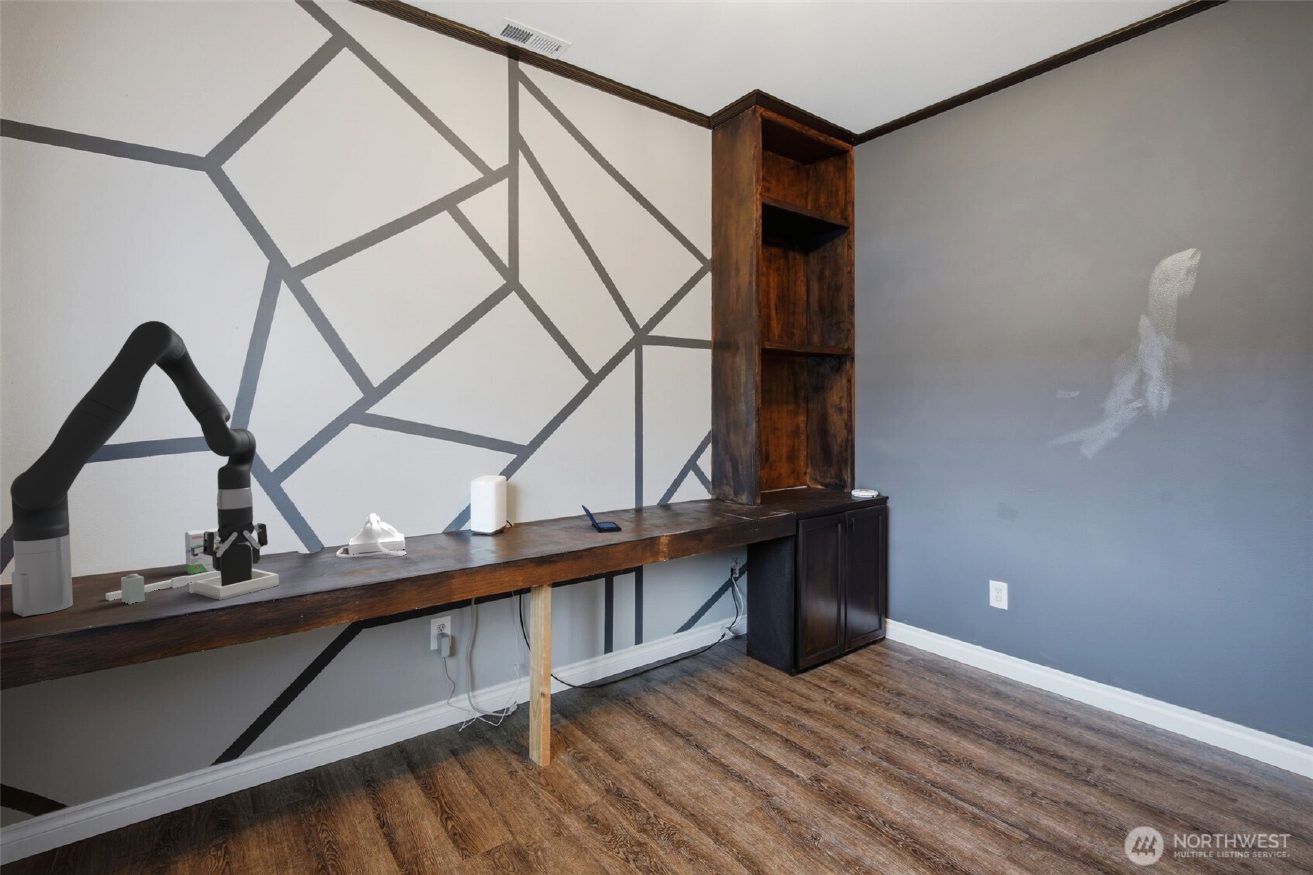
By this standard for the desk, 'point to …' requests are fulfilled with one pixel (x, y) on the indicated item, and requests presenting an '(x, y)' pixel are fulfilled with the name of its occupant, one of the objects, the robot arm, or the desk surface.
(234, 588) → the tray
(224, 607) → the desk surface
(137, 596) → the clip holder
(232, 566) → the black rounded upright slab
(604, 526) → the handheld game console
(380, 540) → the telephone
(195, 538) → the ink box
